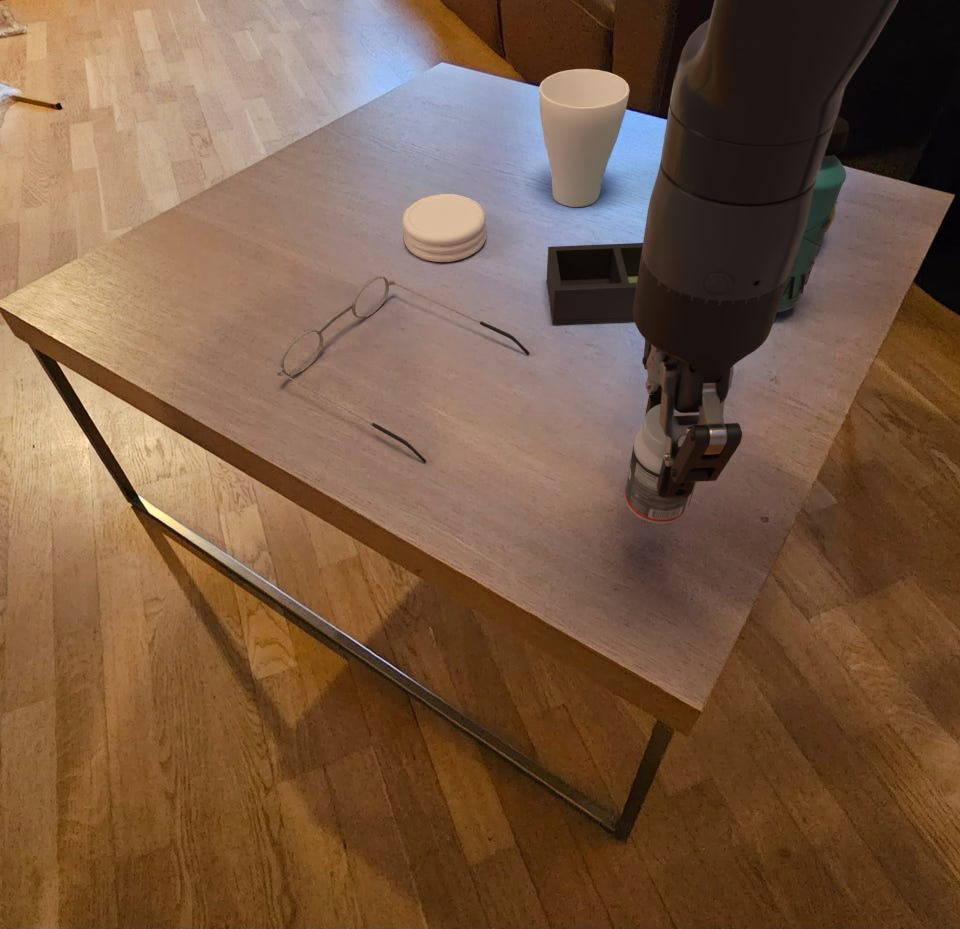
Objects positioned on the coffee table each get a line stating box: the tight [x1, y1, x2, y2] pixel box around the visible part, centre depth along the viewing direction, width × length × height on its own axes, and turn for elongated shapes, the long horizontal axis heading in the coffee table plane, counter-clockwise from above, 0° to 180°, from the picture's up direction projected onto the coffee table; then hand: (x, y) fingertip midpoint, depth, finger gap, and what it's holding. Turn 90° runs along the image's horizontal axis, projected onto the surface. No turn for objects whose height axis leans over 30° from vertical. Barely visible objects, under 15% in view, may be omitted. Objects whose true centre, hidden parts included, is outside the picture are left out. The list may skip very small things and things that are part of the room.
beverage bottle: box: [777, 116, 850, 313], centre depth 71 cm, size 6×7×20 cm
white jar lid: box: [401, 193, 487, 263], centre depth 87 cm, size 10×10×4 cm
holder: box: [546, 242, 643, 326], centre depth 78 cm, size 8×15×5 cm, turn 92°
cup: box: [538, 68, 631, 208], centre depth 89 cm, size 10×10×14 cm
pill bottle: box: [624, 404, 699, 525], centre depth 50 cm, size 5×5×8 cm
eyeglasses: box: [275, 275, 530, 464], centre depth 72 cm, size 18×19×4 cm
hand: (665, 461), depth 50 cm, fingers closed on pill bottle, 4 cm apart
